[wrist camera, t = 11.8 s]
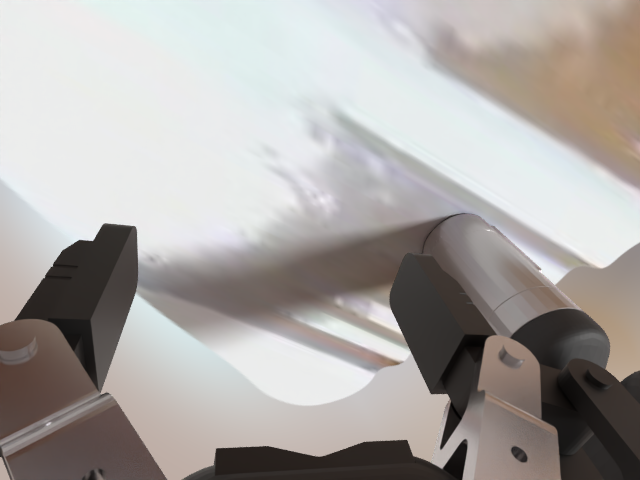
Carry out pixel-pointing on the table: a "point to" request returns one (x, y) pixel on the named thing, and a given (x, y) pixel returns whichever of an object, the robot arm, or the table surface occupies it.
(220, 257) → the table surface
